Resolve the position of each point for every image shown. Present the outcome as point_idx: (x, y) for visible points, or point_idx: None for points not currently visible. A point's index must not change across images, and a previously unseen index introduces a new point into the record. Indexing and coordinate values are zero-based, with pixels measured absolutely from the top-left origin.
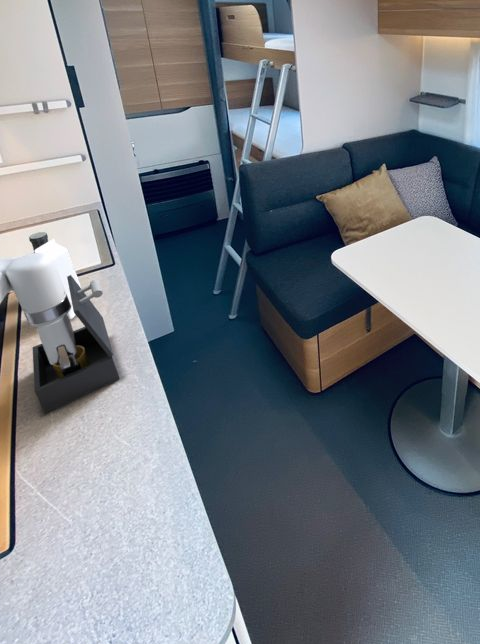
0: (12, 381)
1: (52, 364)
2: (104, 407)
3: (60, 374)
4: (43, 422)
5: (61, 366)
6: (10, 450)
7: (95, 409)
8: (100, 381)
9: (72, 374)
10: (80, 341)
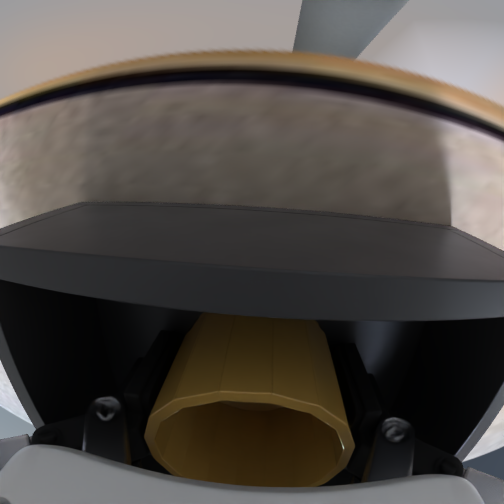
0: (452, 99)
1: (22, 449)
2: None
3: (189, 350)
4: (49, 194)
5: (85, 436)
6: (14, 98)
7: None
8: None
9: (34, 419)
10: None
